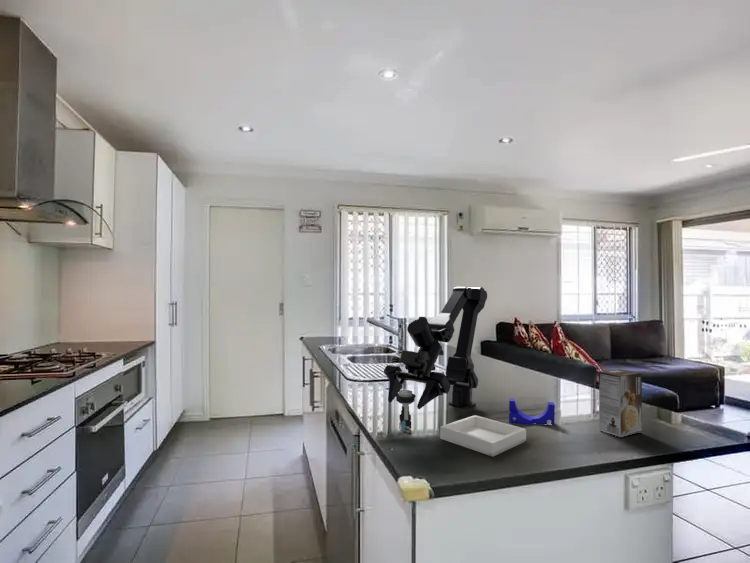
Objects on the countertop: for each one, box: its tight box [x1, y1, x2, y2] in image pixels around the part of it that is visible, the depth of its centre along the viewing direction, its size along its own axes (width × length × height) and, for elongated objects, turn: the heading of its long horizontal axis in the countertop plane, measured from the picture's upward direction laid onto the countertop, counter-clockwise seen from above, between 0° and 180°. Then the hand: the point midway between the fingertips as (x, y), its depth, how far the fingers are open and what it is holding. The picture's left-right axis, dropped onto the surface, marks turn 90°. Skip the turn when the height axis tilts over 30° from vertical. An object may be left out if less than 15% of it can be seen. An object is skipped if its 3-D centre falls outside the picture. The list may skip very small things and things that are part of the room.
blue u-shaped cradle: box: [508, 397, 556, 426], centre depth 121 cm, size 12×4×6 cm, turn 72°
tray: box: [439, 414, 527, 458], centre depth 106 cm, size 15×15×3 cm
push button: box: [395, 389, 417, 433], centre depth 113 cm, size 7×5×10 cm
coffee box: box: [598, 368, 643, 435], centre depth 114 cm, size 9×6×16 cm
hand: (403, 404), depth 112 cm, fingers open, 9 cm apart
